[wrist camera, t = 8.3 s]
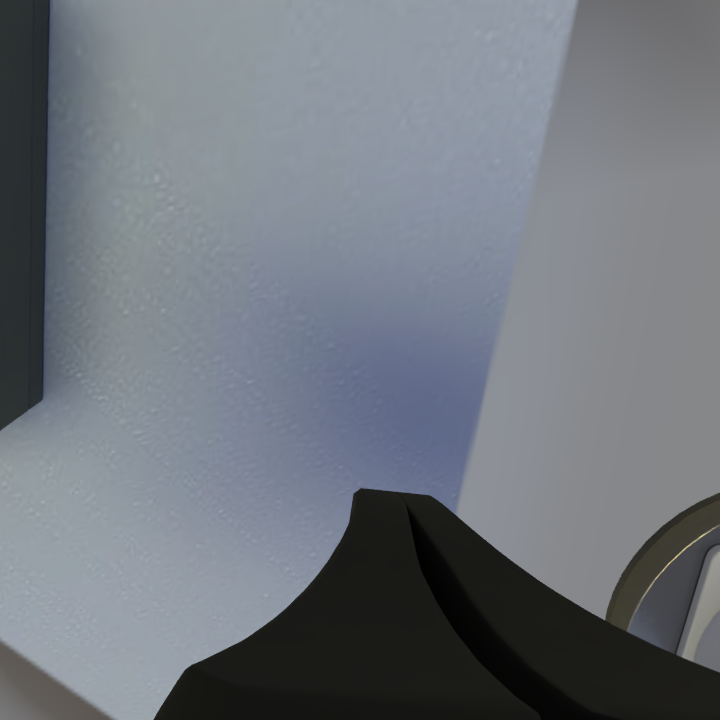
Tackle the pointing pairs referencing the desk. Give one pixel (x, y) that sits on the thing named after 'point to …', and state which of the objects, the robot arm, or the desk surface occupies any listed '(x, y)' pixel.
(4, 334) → the dark grey storage bin
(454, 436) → the desk surface
